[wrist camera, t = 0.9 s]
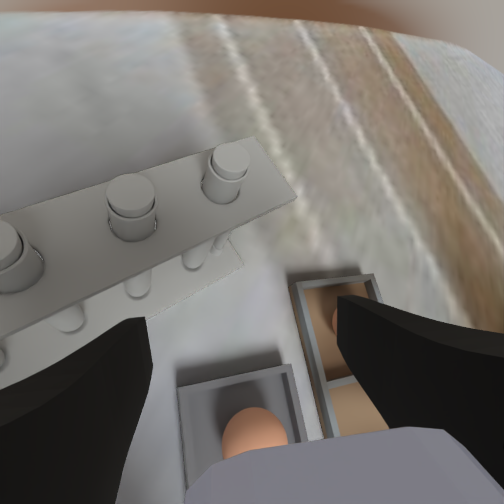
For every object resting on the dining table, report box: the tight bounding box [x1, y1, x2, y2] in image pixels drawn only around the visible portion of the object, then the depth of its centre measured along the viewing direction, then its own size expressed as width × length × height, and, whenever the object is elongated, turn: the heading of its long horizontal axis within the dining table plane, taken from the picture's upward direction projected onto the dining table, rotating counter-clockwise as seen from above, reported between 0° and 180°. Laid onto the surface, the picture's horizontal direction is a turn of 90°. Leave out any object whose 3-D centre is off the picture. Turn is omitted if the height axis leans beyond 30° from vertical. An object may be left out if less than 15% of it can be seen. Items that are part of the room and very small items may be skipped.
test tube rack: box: [0, 136, 298, 389], centre depth 15 cm, size 25×4×13 cm, turn 125°
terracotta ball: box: [222, 407, 288, 459], centre depth 18 cm, size 4×4×4 cm
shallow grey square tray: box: [177, 364, 308, 490], centre depth 20 cm, size 8×8×2 cm
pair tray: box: [288, 274, 389, 439], centre depth 24 cm, size 16×8×2 cm, turn 12°
